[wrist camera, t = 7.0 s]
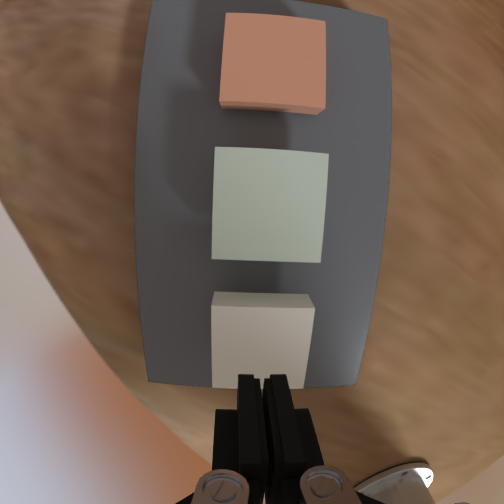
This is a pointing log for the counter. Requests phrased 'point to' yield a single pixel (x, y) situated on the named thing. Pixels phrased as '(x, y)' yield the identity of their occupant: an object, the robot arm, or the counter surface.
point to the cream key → (260, 336)
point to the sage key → (268, 204)
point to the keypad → (266, 137)
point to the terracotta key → (273, 63)
